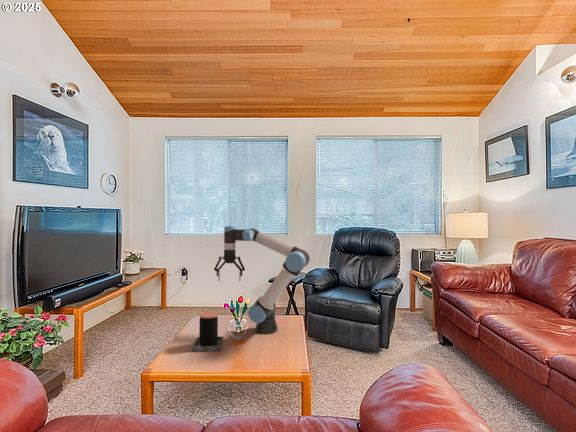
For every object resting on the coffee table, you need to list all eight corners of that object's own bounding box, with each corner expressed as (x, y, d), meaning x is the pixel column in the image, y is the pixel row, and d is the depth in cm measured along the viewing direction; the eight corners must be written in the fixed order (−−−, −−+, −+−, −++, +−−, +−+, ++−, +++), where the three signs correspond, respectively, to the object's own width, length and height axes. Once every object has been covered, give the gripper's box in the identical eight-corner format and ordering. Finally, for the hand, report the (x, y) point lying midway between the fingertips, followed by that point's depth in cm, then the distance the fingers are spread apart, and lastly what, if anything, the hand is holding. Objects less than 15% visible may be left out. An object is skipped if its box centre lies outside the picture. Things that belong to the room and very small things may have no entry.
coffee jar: (219, 341, 207) (220, 312, 206) (214, 348, 196) (214, 317, 196) (202, 340, 208) (203, 311, 207) (196, 347, 197) (196, 316, 197)
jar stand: (223, 340, 210) (223, 336, 210) (219, 351, 195) (219, 346, 195) (197, 341, 209) (197, 336, 209) (192, 351, 194) (192, 347, 194)
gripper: (248, 248, 227) (248, 279, 228) (211, 248, 226) (211, 280, 226) (248, 250, 220) (248, 282, 220) (209, 249, 218) (209, 282, 218)
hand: (229, 281), depth 223 cm, fingers open, 13 cm apart
